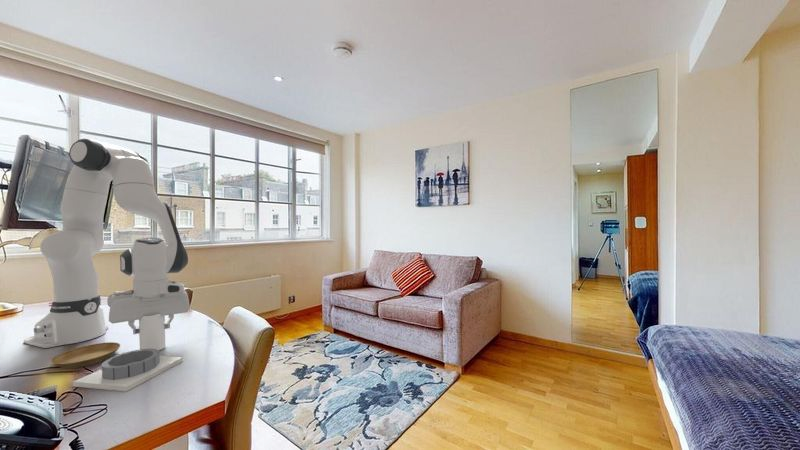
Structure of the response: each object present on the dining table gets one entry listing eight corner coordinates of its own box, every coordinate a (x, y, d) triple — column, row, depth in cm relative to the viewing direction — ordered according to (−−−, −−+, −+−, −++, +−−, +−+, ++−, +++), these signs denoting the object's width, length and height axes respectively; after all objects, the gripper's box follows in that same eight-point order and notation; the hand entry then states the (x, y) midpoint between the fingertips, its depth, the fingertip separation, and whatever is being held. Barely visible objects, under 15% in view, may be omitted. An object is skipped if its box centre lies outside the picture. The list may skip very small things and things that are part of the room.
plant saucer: (63, 377, 83) (63, 367, 83) (41, 366, 90) (41, 357, 89) (130, 355, 97) (130, 346, 97) (107, 347, 103) (106, 339, 103)
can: (151, 354, 96) (150, 316, 96) (134, 353, 97) (133, 315, 97) (170, 346, 102) (169, 310, 102) (154, 344, 104) (153, 309, 103)
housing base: (73, 386, 78) (72, 369, 78) (136, 358, 94) (136, 344, 94) (126, 391, 75) (125, 374, 75) (182, 361, 91) (182, 347, 91)
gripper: (105, 295, 91) (106, 341, 91) (189, 285, 103) (190, 326, 103) (109, 291, 96) (110, 335, 96) (188, 282, 108) (189, 321, 108)
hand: (152, 330), depth 100 cm, fingers closed on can, 6 cm apart
